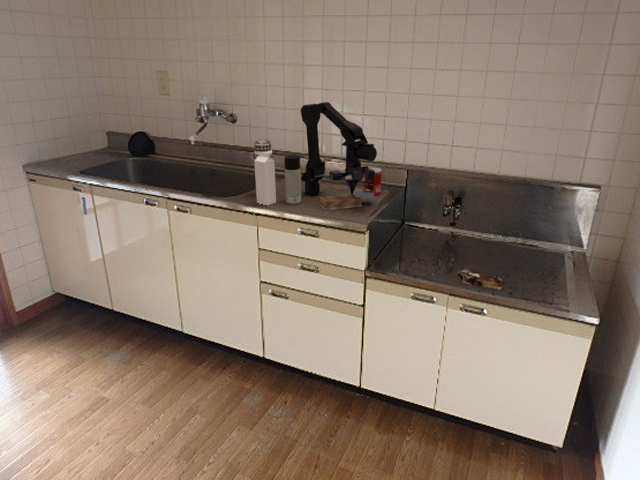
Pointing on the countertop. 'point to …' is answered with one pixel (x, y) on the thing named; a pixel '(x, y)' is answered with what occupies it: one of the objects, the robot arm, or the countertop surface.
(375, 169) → the canned food
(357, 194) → the lever cap
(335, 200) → the body
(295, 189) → the spray can
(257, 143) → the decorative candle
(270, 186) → the milk
